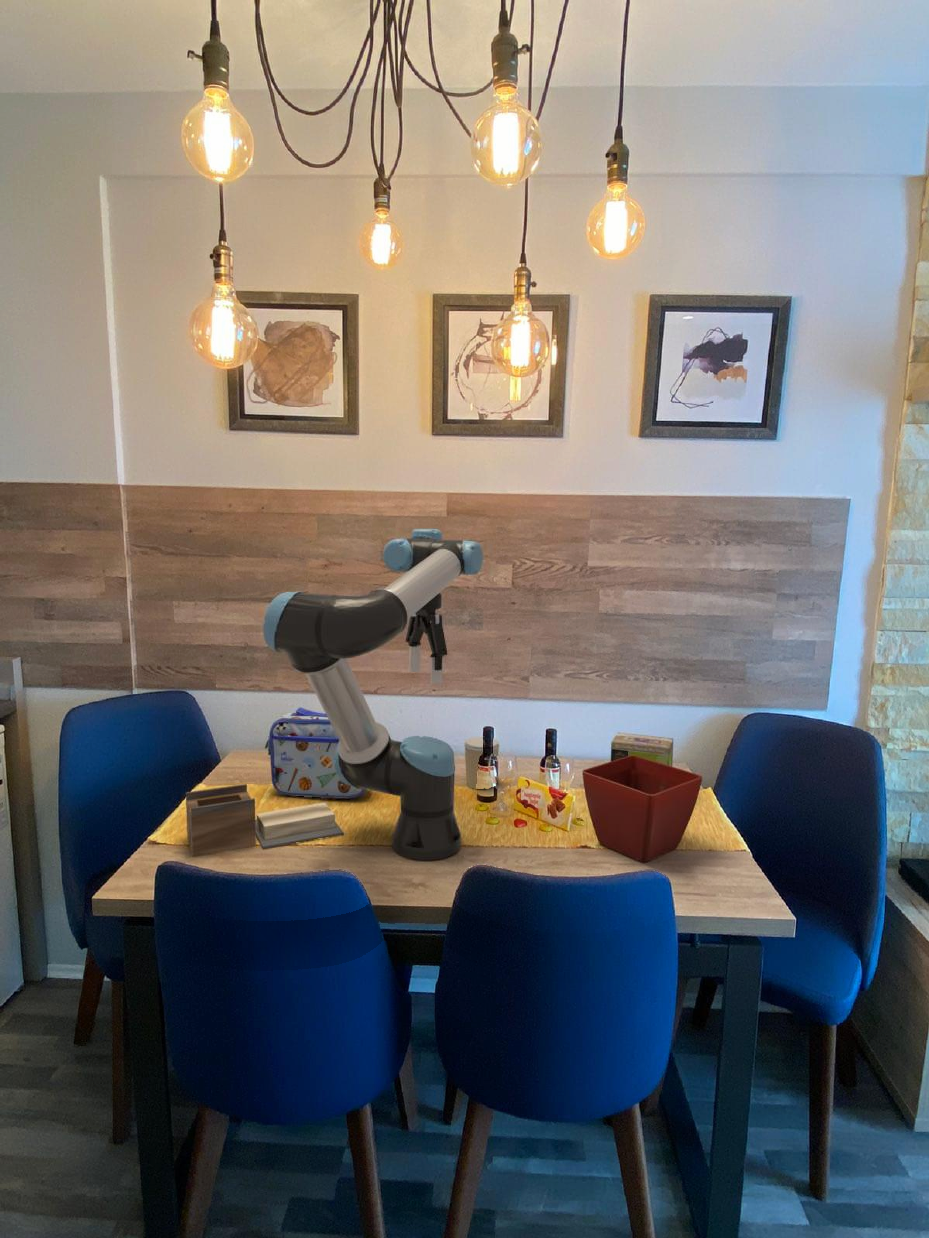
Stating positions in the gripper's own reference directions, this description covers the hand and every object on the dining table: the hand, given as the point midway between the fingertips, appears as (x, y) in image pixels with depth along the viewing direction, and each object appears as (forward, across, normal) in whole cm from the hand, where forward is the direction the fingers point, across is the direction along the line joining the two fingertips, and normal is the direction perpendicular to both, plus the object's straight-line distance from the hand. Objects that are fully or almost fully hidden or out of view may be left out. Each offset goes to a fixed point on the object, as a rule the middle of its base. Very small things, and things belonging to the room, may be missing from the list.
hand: (425, 677), depth 188 cm
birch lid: (+31, -5, +34) cm, 46 cm away
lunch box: (+32, +14, +23) cm, 42 cm away
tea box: (+32, -19, -54) cm, 66 cm away
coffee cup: (+32, +3, -18) cm, 37 cm away
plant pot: (+32, -44, -33) cm, 64 cm away
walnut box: (+32, -5, +50) cm, 60 cm away
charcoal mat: (+32, -5, +34) cm, 47 cm away
